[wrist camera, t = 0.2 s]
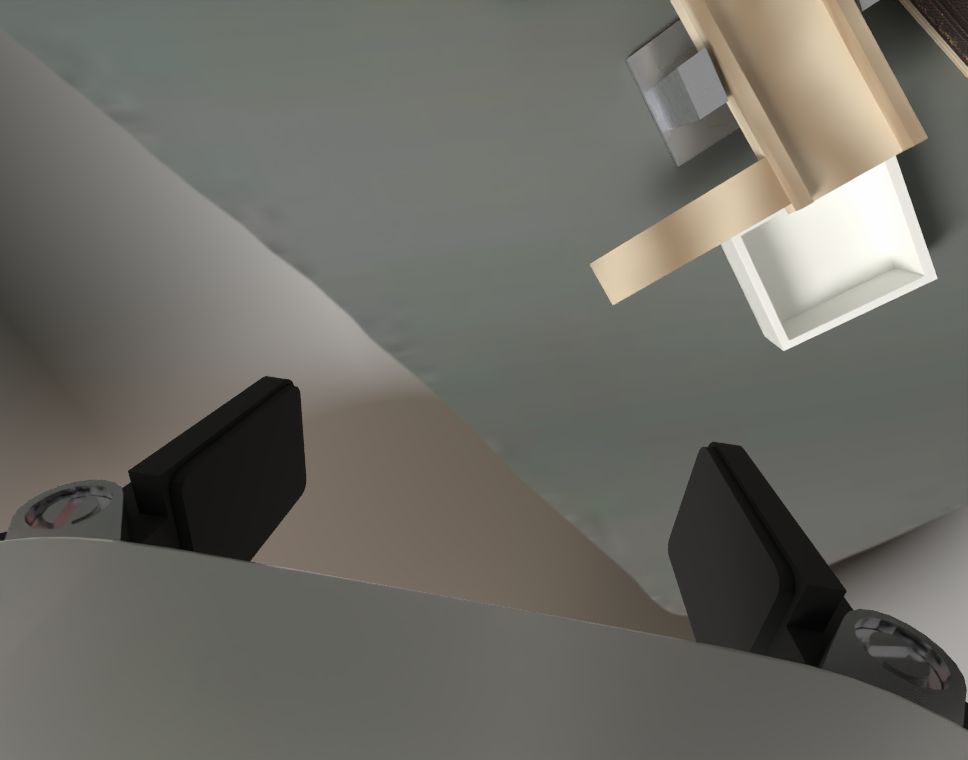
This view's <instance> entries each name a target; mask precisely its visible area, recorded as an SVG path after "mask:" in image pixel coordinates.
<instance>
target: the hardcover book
mask: <svg viewBox="0 0 968 760" xmlns="http://www.w3.org/2000/svg"><path fill="white" fill-rule="evenodd" d="M899 1H900V2H901V3H902V5H903V6H904V7H905V8H906V9H907V10H908V11H909V12H910V14H911V15H912V16H913V17H914V18H915V19H916V20H917V22H918V23H919V24H920V25H921V26H922V27H923V28H924V29H925V31H926V32H927V33H928V34H929V35H930V36H931V37H932V38H933V40H934V41H935V42H936V43H937V44H938V45H939V46H940V48H941V49H942V50H943V51H944V52H945V53H946V54H947V55H948V57H949V58H950V59H951V60H952V61H953V62H954V63H955V64H956V66H957V67H958V68H959V69H960V70H961V71H962V72H963V74H964V75H965V76H966V77H967V78H968V0H899Z"/></svg>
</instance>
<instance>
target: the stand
mask: <svg viewBox="0 0 968 760" xmlns="http://www.w3.org/2000/svg"><path fill="white" fill-rule="evenodd" d="M854 1H855V3H856V5H857V7H858V9H859V11H860V12H862V11H864V10H865V9H867V8H868V7H870V6H871V5H873V4H874V3H876V2H877V1H879V0H854ZM625 62H626V64H627V66H628V68H629V70H630V72H631V74H632V76H633V78H634V80H635V82H636V84H637V86H638V88H639V90H640V93H641V95H642V97H643V99H644V101H645V103H646V105H647V107H648V109H649V111H650V113H651V115H652V117H653V119H654V121H655V124H656V126H657V128H658V130H659V132H660V134H661V136H662V138H663V140H664V142H665V144H666V146H667V148H668V150H669V152H670V155H671V157H672V159H673V161H674V163H675V165H676V167H679V166H681V165H682V164H684V163H685V162H687V161H688V160H690V159H692V158H693V157H695V156H696V155H698V154H699V153H701V152H702V151H704V150H706V149H707V148H709V147H710V146H712V145H713V144H715V143H716V142H718V141H720V140H721V139H723V138H724V137H726V136H727V135H729V134H730V133H732V132H734V131H735V130H737V129H738V128H740V126H739V124H738V123H737V121H736V119H735V117H734V115H733V113H732V112H731V110H730V108H729V106H728V104H727V103H726V102H727V101H729V100H728V98H727V96H726V93H725V91H724V89H723V86H722V84H721V82H720V80H719V77H718V75H717V73H716V70H715V68H714V66H713V63H712V61H711V59H710V56H709V54H708V52H707V49H706V47H705V48H704V49H702V50H701V51H700V52H698V50H697V48H696V46H695V45H694V43H693V41H692V39H691V37H690V36H689V34H688V32H687V30H686V28H685V26H684V25H683V23H682V21H681V19H680V20H678V21H677V22H676V23H674V24H673V25H672V26H670V27H669V28H668V29H666V30H665V31H664V32H662V33H661V34H660V35H658V36H657V37H656V38H654V39H653V40H652V41H650V42H649V43H648V44H646V45H645V46H644V47H642V48H641V49H640V50H638V51H637V52H636V53H634V54H633V55H632V56H630V57H629V58H628V59H627V60H626V61H625Z"/></svg>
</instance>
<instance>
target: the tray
mask: <svg viewBox="0 0 968 760" xmlns="http://www.w3.org/2000/svg"><path fill="white" fill-rule="evenodd" d="M721 247H722V249H723V251H724V253H725V255H726V257H727V259H728V261H729V263H730V265H731V267H732V269H733V272H734V274H735V276H736V278H737V280H738V282H739V284H740V286H741V288H742V290H743V292H744V294H745V297H746V299H747V301H748V303H749V305H750V307H751V309H752V311H753V313H754V315H755V317H756V320H757V322H758V324H759V326H760V328H761V330H762V332H763V334H764V336H765V337H766V338H767V339H769V340H770V341H771V342H773V343H774V344H775V345H777V346H778V347H779V348H781V349H782V350H783V351H785V350H787V349H789V348H791V347H793V346H795V345H798V344H800V343H802V342H804V341H806V340H808V339H810V338H812V337H815V336H817V335H819V334H821V333H823V332H825V331H827V330H829V329H832V328H834V327H836V326H838V325H840V324H842V323H844V322H846V321H848V320H851V319H853V318H855V317H857V316H859V315H861V314H863V313H865V312H868V311H870V310H872V309H874V308H876V307H878V306H880V305H882V304H885V303H887V302H889V301H891V300H893V299H895V298H897V297H899V296H902V295H904V294H906V293H908V292H910V291H912V290H914V289H916V288H919V287H921V286H923V285H925V284H927V283H929V282H931V281H933V280H936V279H937V276H936V273H935V270H934V267H933V264H932V261H931V258H930V255H929V252H928V249H927V246H926V243H925V240H924V238H923V235H922V232H921V229H920V226H919V223H918V220H917V217H916V214H915V211H914V208H913V205H912V202H911V199H910V196H909V193H908V190H907V188H906V185H905V182H904V179H903V176H902V173H901V170H900V167H899V164H898V161H897V158H896V155H895V156H894V157H892V158H890V159H888V160H886V161H885V162H883V163H881V164H879V165H878V166H876V167H874V168H872V169H870V170H869V171H867V172H865V173H863V174H862V175H860V176H858V177H856V178H854V179H853V180H851V181H849V182H847V183H846V184H844V185H842V186H840V187H838V188H837V189H835V190H833V191H831V192H830V193H828V194H826V195H824V196H822V197H821V198H819V199H817V200H815V201H814V202H813V203H812V204H810V205H808V206H806V207H804V208H803V209H800V210H798V211H796V212H793V213H791V214H789V215H788V213H787V211H786V210H785V208H783V209H781V210H779V211H778V212H776V213H774V214H772V215H771V216H769V217H767V218H765V219H764V220H762V221H760V222H758V223H757V224H755V225H753V226H751V227H750V228H748V229H746V230H744V231H743V232H741V233H739V234H737V235H735V236H734V237H732V238H730V239H728V240H727V241H725V242H723V243H721Z"/></svg>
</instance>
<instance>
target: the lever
mask: <svg viewBox="0 0 968 760" xmlns="http://www.w3.org/2000/svg"><path fill="white" fill-rule="evenodd" d="M670 1H671V3H672V5H673V7H674V8H675V10H676V12H677V14H678V16H679V17H680V19H681V21H682V23H683V25H684V26H685V28H686V30H687V32H688V34H689V36H690V37H691V39H692V41H693V43H694V45H695V46H696V48H697V50H698V52H700V51H701V50H702V49H704V48H705V47H706V49H707V52H708V54H709V56H710V59H711V61H712V63H713V66H714V68H715V70H716V73H717V75H718V77H719V80H720V82H721V84H722V86H723V89H724V91H725V93H726V96H727V98H728V100H729V101H727V102H726V103H727V104H728V106H729V108H730V110H731V112H732V113H733V115H734V117H735V119H736V121H737V123H738V124H739V126H740V128H741V130H742V132H743V133H744V135H745V137H746V139H747V141H748V142H749V144H750V146H751V148H752V150H753V152H754V153H755V155H756V157H757V159H758V162H756V163H755V164H753V165H751V166H750V167H748V168H746V169H745V170H743V171H742V172H740V173H738V174H737V175H735V176H733V177H732V178H730V179H728V180H727V181H725V182H724V183H722V184H720V185H719V186H717V187H715V188H714V189H712V190H710V191H709V192H707V193H706V194H704V195H702V196H701V197H699V198H697V199H696V200H694V201H692V202H691V203H689V204H688V205H686V206H684V207H683V208H681V209H679V210H678V211H676V212H674V213H673V214H671V215H670V216H668V217H666V218H665V219H663V220H661V221H660V222H658V223H656V224H655V225H653V226H652V227H650V228H648V229H647V230H645V231H643V232H642V233H640V234H638V235H637V236H635V237H634V238H632V239H630V240H629V241H627V242H625V243H624V244H622V245H620V246H619V247H617V248H615V249H614V250H612V251H611V252H609V253H607V254H606V255H604V256H602V257H601V258H599V259H597V260H596V261H594V262H593V263H591V264H590V266H591V268H592V269H593V271H594V273H595V275H596V276H597V278H598V280H599V282H600V283H601V285H602V287H603V289H604V290H605V292H606V294H607V296H608V298H609V299H610V301H611V303H612V305H614V304H616V303H618V302H619V301H621V300H623V299H625V298H626V297H628V296H630V295H632V294H633V293H635V292H637V291H639V290H640V289H642V288H644V287H646V286H648V285H649V284H651V283H653V282H655V281H656V280H658V279H660V278H662V277H663V276H665V275H667V274H669V273H670V272H672V271H674V270H676V269H677V268H679V267H681V266H683V265H684V264H686V263H688V262H690V261H691V260H693V259H695V258H697V257H699V256H700V255H702V254H704V253H706V252H707V251H709V250H711V249H713V248H714V247H716V246H718V245H720V244H721V243H723V242H725V241H727V240H728V239H730V238H732V237H734V236H735V235H737V234H739V233H741V232H743V231H744V230H746V229H748V228H750V227H751V226H753V225H755V224H757V223H758V222H760V221H762V220H764V219H765V218H767V217H769V216H771V215H772V214H774V213H776V212H778V211H779V210H781V209H783V208H785V210H786V211H787V213H788V215H789V214H791V213H793V212H796V211H798V210H800V209H803V208H804V207H806V206H808V205H810V204H812V203H813V202H814V201H815V200H817V199H819V198H821V197H822V196H824V195H826V194H828V193H830V192H831V191H833V190H835V189H837V188H838V187H840V186H842V185H844V184H846V183H847V182H849V181H851V180H853V179H854V178H856V177H858V176H860V175H862V174H863V173H865V172H867V171H869V170H870V169H872V168H874V167H876V166H878V165H879V164H881V163H883V162H885V161H886V160H888V159H890V158H892V157H894V156H895V155H897V154H899V153H901V152H903V151H905V150H907V149H909V148H911V147H913V146H915V145H917V144H919V143H920V142H922V141H924V140H926V139H927V138H928V137H927V135H926V133H925V131H924V130H923V128H922V126H921V124H920V122H919V120H918V118H917V117H916V115H915V113H914V111H913V109H912V107H911V105H910V104H909V102H908V100H907V98H906V96H905V94H904V92H903V91H902V89H901V87H900V85H899V83H898V81H897V79H896V78H895V76H894V74H893V72H892V70H891V68H890V66H889V65H888V63H887V61H886V59H885V57H884V55H883V53H882V52H881V50H880V48H879V46H878V44H877V42H876V40H875V39H874V37H873V35H872V33H871V31H870V29H869V27H868V26H867V24H866V22H865V20H864V18H863V16H862V14H861V13H860V11H859V9H858V7H857V5H856V3H855V1H854V0H670Z"/></svg>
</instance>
